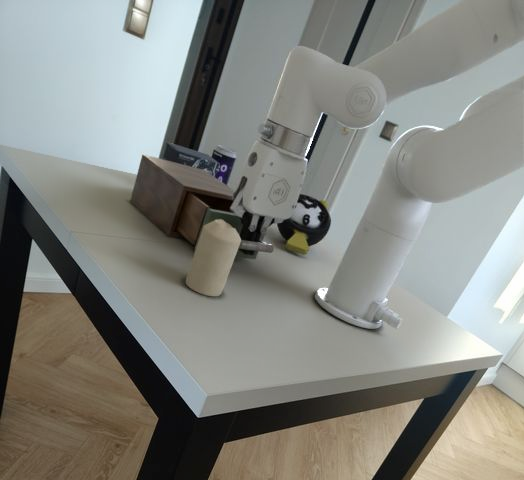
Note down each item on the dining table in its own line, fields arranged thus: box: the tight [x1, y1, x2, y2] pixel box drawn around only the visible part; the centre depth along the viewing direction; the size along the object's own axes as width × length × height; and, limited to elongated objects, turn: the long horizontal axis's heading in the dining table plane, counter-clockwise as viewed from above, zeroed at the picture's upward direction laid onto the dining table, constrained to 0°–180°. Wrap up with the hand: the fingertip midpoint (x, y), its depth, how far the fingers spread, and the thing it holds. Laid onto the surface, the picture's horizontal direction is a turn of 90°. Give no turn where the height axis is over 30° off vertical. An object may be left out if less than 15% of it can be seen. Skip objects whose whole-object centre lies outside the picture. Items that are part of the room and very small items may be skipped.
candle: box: [185, 219, 241, 297], centre depth 72 cm, size 6×6×10 cm
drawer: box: [175, 191, 275, 260], centre depth 88 cm, size 21×13×7 cm, turn 39°
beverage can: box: [211, 144, 237, 186], centre depth 124 cm, size 6×6×12 cm
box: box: [161, 141, 220, 177], centre depth 111 cm, size 11×7×10 cm, turn 123°
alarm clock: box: [276, 193, 332, 256], centre depth 114 cm, size 12×15×15 cm
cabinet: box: [130, 153, 234, 239], centre depth 96 cm, size 16×14×9 cm
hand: (244, 251), depth 85 cm, fingers closed
